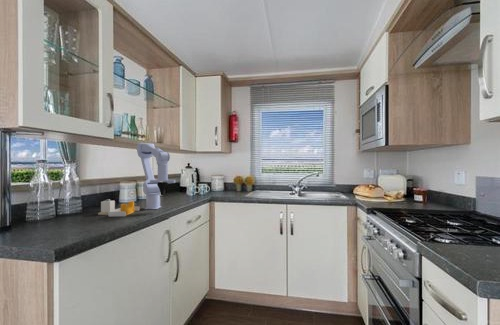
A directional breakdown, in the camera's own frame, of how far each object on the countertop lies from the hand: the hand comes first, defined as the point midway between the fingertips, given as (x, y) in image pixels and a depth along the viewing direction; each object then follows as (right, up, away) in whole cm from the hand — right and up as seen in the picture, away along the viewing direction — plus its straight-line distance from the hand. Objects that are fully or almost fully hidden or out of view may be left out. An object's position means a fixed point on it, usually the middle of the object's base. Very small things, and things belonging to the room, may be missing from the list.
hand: (162, 195), depth 147 cm
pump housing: (-29, -10, -6) cm, 31 cm away
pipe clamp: (-18, -10, -8) cm, 22 cm away
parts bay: (-19, -10, -6) cm, 22 cm away
